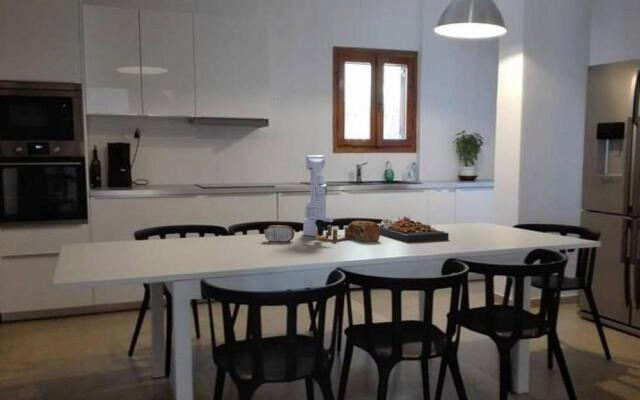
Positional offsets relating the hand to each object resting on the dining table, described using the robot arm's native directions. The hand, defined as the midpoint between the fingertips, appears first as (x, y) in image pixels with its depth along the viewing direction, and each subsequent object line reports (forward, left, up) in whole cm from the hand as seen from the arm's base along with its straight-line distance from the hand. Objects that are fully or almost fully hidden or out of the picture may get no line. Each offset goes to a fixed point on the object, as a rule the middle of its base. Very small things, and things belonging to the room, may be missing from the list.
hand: (320, 235), depth 280 cm
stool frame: (-1, +12, -4) cm, 12 cm away
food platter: (+25, +47, -4) cm, 53 cm away
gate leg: (-1, +2, -2) cm, 3 cm away
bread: (+13, +21, -4) cm, 25 cm away
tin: (-18, -11, -4) cm, 21 cm away
